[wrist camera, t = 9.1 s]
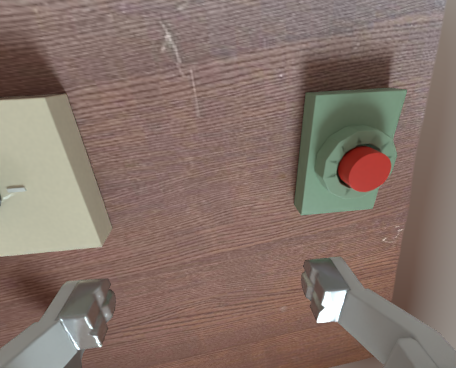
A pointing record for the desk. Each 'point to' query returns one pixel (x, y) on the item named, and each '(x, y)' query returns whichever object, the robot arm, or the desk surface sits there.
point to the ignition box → (342, 144)
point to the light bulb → (75, 360)
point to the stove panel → (46, 179)
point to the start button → (364, 168)
